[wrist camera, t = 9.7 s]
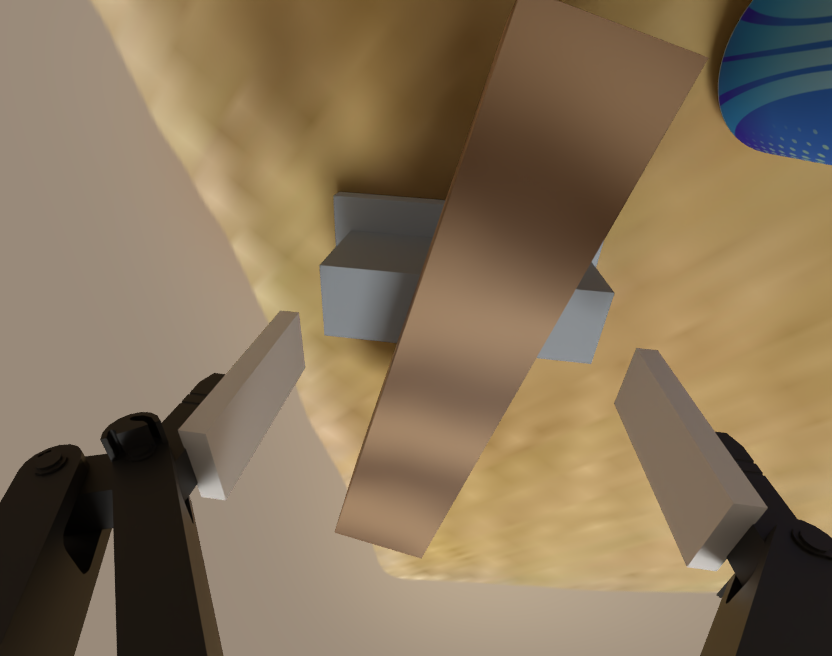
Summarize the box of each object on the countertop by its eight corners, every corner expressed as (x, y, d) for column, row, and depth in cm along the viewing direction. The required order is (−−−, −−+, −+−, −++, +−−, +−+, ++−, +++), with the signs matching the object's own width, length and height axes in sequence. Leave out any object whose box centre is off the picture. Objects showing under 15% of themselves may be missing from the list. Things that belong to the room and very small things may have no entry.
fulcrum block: (339, 191, 25) (295, 222, 19) (604, 212, 24) (651, 253, 18) (343, 306, 29) (309, 363, 23) (571, 329, 28) (600, 396, 22)
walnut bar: (506, 21, 14) (522, -13, 10) (637, 70, 14) (708, 57, 10) (356, 461, 26) (334, 532, 22) (429, 483, 27) (421, 558, 22)
